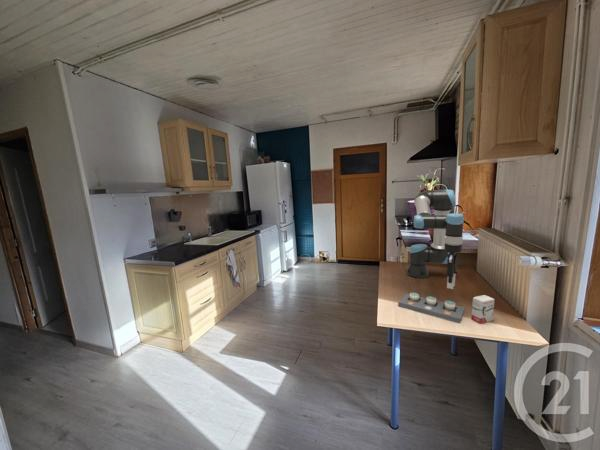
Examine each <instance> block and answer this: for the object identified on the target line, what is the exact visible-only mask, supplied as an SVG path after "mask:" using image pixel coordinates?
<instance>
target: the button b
mask: <svg viewBox="0 0 600 450" xmlns="http://www.w3.org/2000/svg"><path fill="white" fill-rule="evenodd" d="M426 298H427V300H426V303H427V304H426V305H430V306H434V307H436V306H435V305H436V301H437V298H436V297H434V296H430V295H429V296H426Z"/></svg>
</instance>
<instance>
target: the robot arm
mask: <svg viewBox="0 0 600 450" xmlns="http://www.w3.org/2000/svg"><path fill="white" fill-rule="evenodd" d="M456 202H457V201H456V195H455V191H454V190H453V189H427V190H424V191H421V192H420V193H418V194H417V195H416V196H415V198H414V200H413V203H414V207H415V208H416V214H415V215H414V217H413V228H415V229H419V230H421V229H424V230H425V229H427V230H428V229H431V230H432V229H433V241H432V243H430V246H428V245H427V244H425V243H417V244H412V245H411V246H410V247H409V264H408V267H407V270H406V275H407V274H408V275H410V276H409V277H411V276H413V277H412V278H414V277H417V278H416V279H427V278H428V277H429V275H430V273H429V269H428V265H427V263H429V264H430V263H431V264H441V265H442V264H446V265H447V266H446V267H447V268H446V275H445V277H447V281H446V289H451V290H454V287H455V286H456V274H458V271H457V263H458V256H459V255H458V254H459V253H461V252H462V251H463V246H462V245H463V237H464V236H463V231H464V221H465V220H464V215H463V213H452V212H451V211H453V208H454V207H456ZM430 208H432V210H433V212H434V215H433V214H432V213H431V209H430ZM450 212H451V213H450ZM408 275H407V276H408ZM426 277H427V278H426Z"/></svg>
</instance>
